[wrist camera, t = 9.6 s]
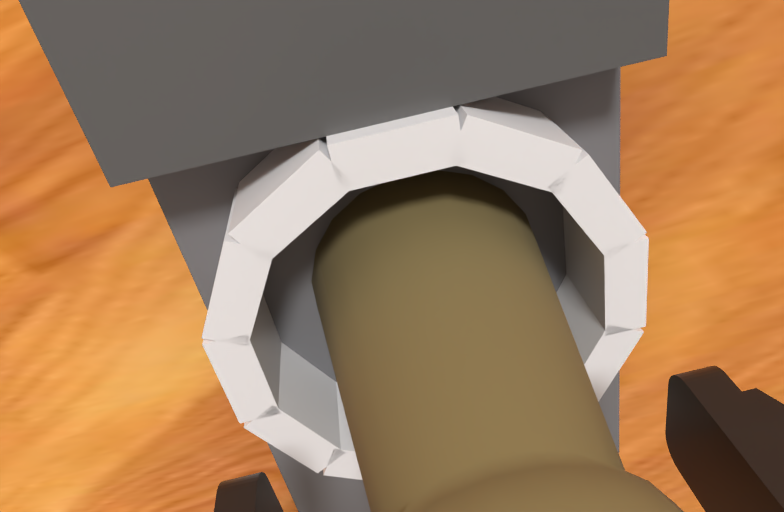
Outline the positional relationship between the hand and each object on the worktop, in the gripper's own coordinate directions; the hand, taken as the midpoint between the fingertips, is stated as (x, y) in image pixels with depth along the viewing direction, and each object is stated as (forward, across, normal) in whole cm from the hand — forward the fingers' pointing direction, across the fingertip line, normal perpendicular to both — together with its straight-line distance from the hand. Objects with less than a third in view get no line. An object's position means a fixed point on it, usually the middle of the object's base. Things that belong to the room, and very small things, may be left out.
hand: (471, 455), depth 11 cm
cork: (+6, 0, 0) cm, 6 cm away
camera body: (+11, 0, 0) cm, 11 cm away
